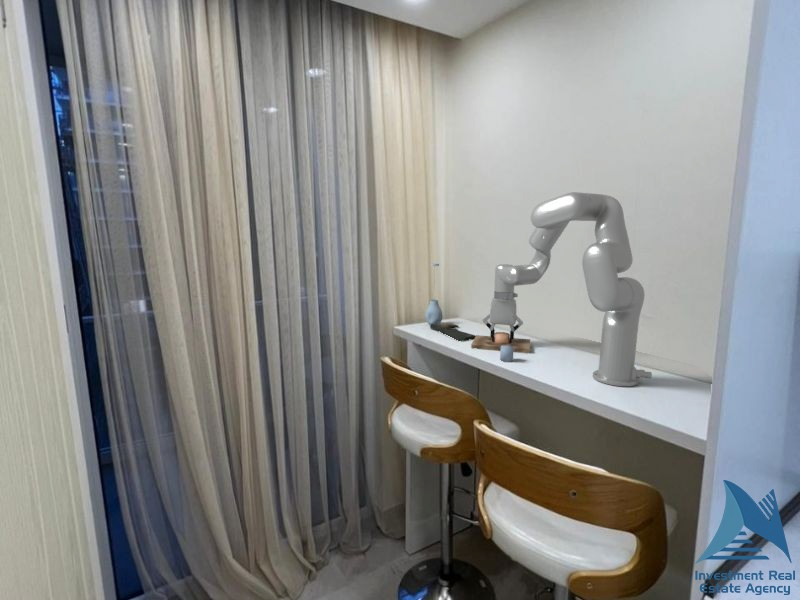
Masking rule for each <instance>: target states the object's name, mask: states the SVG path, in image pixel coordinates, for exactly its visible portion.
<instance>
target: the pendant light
mask: <svg viewBox="0 0 800 600" xmlns="http://www.w3.org/2000/svg"><path fill="white" fill-rule="evenodd" d="M439 266H440V263H430V267H439ZM433 272H434V274H433V275H434V277H433V278H434V281H433V282H434V283H433V284H434V285H433V288H434V289H435V283H436V281H435V280H436V279H435V276H436V270H434V271H433ZM424 319H425V321H426V323H427V325H431V324H435V325H440V324H441V323H442V321H443V310H442V309H441V307H440V305H439V300H438V299H431V300H430V301H429V304H428V306H427V308H426V310H425V318H424Z"/></svg>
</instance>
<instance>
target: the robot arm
mask: <svg viewBox="0 0 800 600" xmlns="http://www.w3.org/2000/svg"><path fill="white" fill-rule="evenodd" d="M530 221H531V224H532V225H533V227H535V229H534V230H533V232H532V234H530V236H529V238H528V242H529V243H528V244H530V246H531V247H532V248H533V249H534V250H535V254H534V255H533V257H532V259H531V261H530V262H529V264H520V265H519V264H518V265H513V264H501V263H499V264H497V265H496V266H495V268H494V269H495V270H494V271H495V272H494V290H493V291H494V292H493V298H492V299H491V303H490V310H489V314H488V315H486V317H484V318H483V319H482V322H483V324H485V326H486V327H487V328H488V329H489V330H490V334H489V336H490V338H492V340H494V337H495V333H496V332H495V331H496V330H495V326H496V325H503V326H509V328H510V331H509V334H510V342H512V339H514V338H515V332H516V330H518V329H519V328H520V327H521V326H522V325H523V324H524V322H523V320H522V319H521V318H520V317H519V316H518V315H517V300H516V299H515V298H518V295H519V294H518V293H516V292H515V286H527V285H533V284H536V283H538V281H540V280H541V279H542V277H543V276H544V275H545V273H546V271H548V268H549V266H550V263H551V259H552V255H551V253H552V249H553V247H554V246H555V244H556V242H557V241H558V240H559V238H560V237H561V235H562V233H563V232H565V229H566V228H567V226H568V225H569V224H570V222H572V221H576V222H577V221H578V222H592V221H593V222H595V225H594V226H595V227H594V235H595V239H596V242H594V243H592V244H590V245H588V247H587V248H586V249H585V251H584V252H583V254H582V261H581V262H582V270H583V275H584V279H585V286H586V290H587V295H588V299H589V302H590V304H591V305H592V307H594V308H595V309H596V310H597V311H599V312H604V316H603V319H602V320H603V321H602V328H601V336H600V337H601V339H600V349H599V360H598V363H599V364H598V369H597V370H594V371H593V372H592V377H593V379H594V380H595V381H598V382H600V383H602V384H607V385H610V386H616V387H634V386H638V385H639V382H640V381H639V380H640V378H644V379H652V377H653V373H652V371H645V369H637V368H636V367H635V362H636V352H637V342H638V340H637V339H638V332H639V324H640V317H641V312H642V308H643V306H644V302H645V290H644V287H643V285H642V284H641V283H640V282H639V281H638V280H637V279H635V278H632V277H629V276H628V277H624V276H622V277H618V274H620V273H624V272H627V271H628V270H629V269H630V268H631V267H632V265H633V254H632V250H631V249H632V248H631V245H630V239H629V236H628V231H627V226H626V222H625V221H626V220H625V216H624V210H623V207H622V204H621V203H620V201H619V200H618V199H616V198H615V197H613V196H611V195H607V194H600V193H590V192H579V191H578V192H577V191H576V192H575V191H574V192H567V193H564V194H562V195H559V196H556V197H554V198H551V199H548V200H544V201H542V202H540V203H538V204H537V205H536V206H535V207H534V208H533V210H532V211H531V215H530ZM488 320H489V321H488ZM516 322H517V324H516ZM515 324H516V325H515Z"/></svg>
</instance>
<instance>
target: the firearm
mask: <svg viewBox="0 0 800 600" xmlns="http://www.w3.org/2000/svg"><path fill="white" fill-rule="evenodd" d="M429 325H430V324H429ZM452 327H458V328H460V327H459V325H457V324H453V323H446V324H442V325H440V324H439V325H435V324H431V325H430V326H429V328H430V329H432V330H434V331H436V332H438V331H440V332H439V333H440V334H442V333H443V334H442V335H444V334H446V335H448V336H450V337H452V338H454V339H453V340H455V339H456V340H455V341H457V340H458V341H457V342H459V341H461V342H466V341H470V340H469V339H472V340H474V339H475V337H476V335H475V334H473V333H468V332H464V331H462V330H459V329H458V328H452ZM446 335H445V336H446ZM448 336H447V337H448ZM450 337H449V338H450ZM452 338H451V339H452Z"/></svg>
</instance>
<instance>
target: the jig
mask: <svg viewBox="0 0 800 600" xmlns="http://www.w3.org/2000/svg"><path fill="white" fill-rule="evenodd" d="M475 336H476V337H475V339H473V341H472V343H471V349H474V348H477V349H476V350H488V351H499V352H501V346H502V345H509V346H513V347H514V350H513V353H522V354H531V339H530V338H519V337H518V338H516V337H514V339H512V342H510V338H509V344H496V343H494V340H492V338H490V335H479V334H477V335H475ZM494 339H495V336H494Z"/></svg>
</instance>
